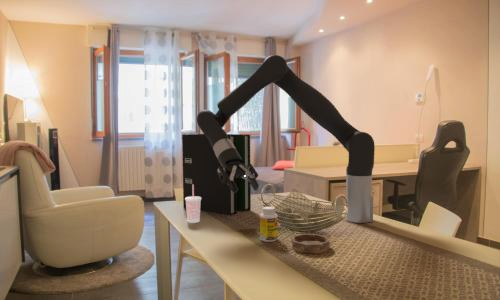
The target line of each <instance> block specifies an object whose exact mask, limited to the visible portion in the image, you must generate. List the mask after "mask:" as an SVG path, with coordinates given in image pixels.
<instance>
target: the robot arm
mask: <svg viewBox="0 0 500 300" xmlns="http://www.w3.org/2000/svg"><path fill="white" fill-rule="evenodd" d="M272 83H273V84H274V85H276V86H277V87H278V88H280V89H281V90H283V91H284V92H285V93H286V94H287V95H288V96H289V97H290V98H291V100H292V101H293V102H294V103H295V105H297V106H298V108H300V109H301V110H302V111H303V112H304V113H305V115H307V116H308V117H309V118H310V119H311V120H312V121H314V122H315V123H317V124H318V126H321V128H323V129H325V130H326V131H327V132H328V133H330V134H331V135H332V136H333V137H334V138H335V139H336V140H337V141H338V142H339V143H340V145H341V146H343V148H344V149H345V150H346V151H347V152H348V161H347V162H348V164H347V167H346V170H345V171H346V173H345V175H346V177H345V178H346V179H345V181H346V184H345V186H346V187H345V188H346V191H345V192H346V193H345V199H346V198H347V199H348V213H347V216H346V215H345V220H346V221H348V222H350V223H356V224H357V223H358V224H366V223H373V222H374V196H373V193H372V192H373V191H372V190H373V186H372V185H373V169H374V165H375V149H376V148H375V141H374V137H372V135H370V134H369V133H367V132H365V131H361V130H359V129H357V128H356V127H354V126H353V125H352V124H350V122H348V121H347V120H346V119H345V118H344V116H342V114H341V112H339V110H338V109H337V107H335V105H334V104H333V103H332V102H331V101H330V100H329V99H328V98H327V97H326V96H325V95H324V94H323V93H321V92H320V91H319V90H318V89H317V88H315V87H313V86H312V85H311V84H309V83H307V82H306V81H304V80H303V79H301V78H300V77H299V76H298V75H297V74H296V73H295V72H294V71H293V70H292V69H291V68H290V66H288V64H287V61H286V59H285V58H284V57H282V56H281V55H277V54H273V55H272V54H271V55H268V56H267V57H266V58H265V59H264V61H263V62H262V63H261V65H260V66H259V67H258V68H257V69H256V70H255V71H254V72H253V73H252V74H251V75H250V76H249V77H248V78H247V79H245V80H244V81H243V82H242V83H241V84H239V85H238V86H237V87H236V88H234V89H233V90H232V91H230V92H229V93H227V94H226V96H224V97H223V98H222V99H221V100H219V101H218V102H217V104H216V105H217V109H218V110H217V111H216V113H213V111H211V110H209V109H203V110H201V111H199V112H198V114H197V115H196V116H197V117H196V123H197V126H198V128H200V131H201V132H202V134H205V136H206V137H207V138H208V140H209V142H210V144H211V146H212V148H213V150H214V152H215V155H216V157H217V159H218V161H219V163H220V164H221V166H219V168H218V170H217V173H218V176H219V178H220V180H221V182H222V184H225V183H226V184H228V185H229V187H230V188H231V190H232V192H234V193H237V191H238V187H237V185H236V184H235V182H234V181H233V178H243V179H247V180H248V181H249V182H250V184H251V187H252V189H253V191H257V190H258V189H259V186H260V185H259V183H258V181H257V178H258V177H259V173H258V171H257V170H256V169H255V168H254V166H253V165H252V163H251V162H250V163H249V164H248V165H244V164H243V163H242V158H241V157H240V155H239V153H238V151H237V150H236V148H235V146H234V144H233V143H232V142H231V140H230V139H229V137H228V135H227V134H228V133H227V132H226V131H225V130H224V129H223V128H224V126H225V125H226V124H227V122H228V121H229V120H230V118H231V117H232V116H233V115H234V114H236V113H237V112H238V111H240V110H241V109H242V108H243V107H244V106H246V104H247V103H248V102H250V101H251V99H253V98H254V97H255V96H256V95H257V94H258V93H259V92H260V91H261V90H264V88H266V87H267V86H270V84H272ZM225 172H226V173H227V174H228V178H227V176H226V173H225ZM245 172H246V175H244V174H245ZM248 176H250V178H249V177H248Z"/></svg>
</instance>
